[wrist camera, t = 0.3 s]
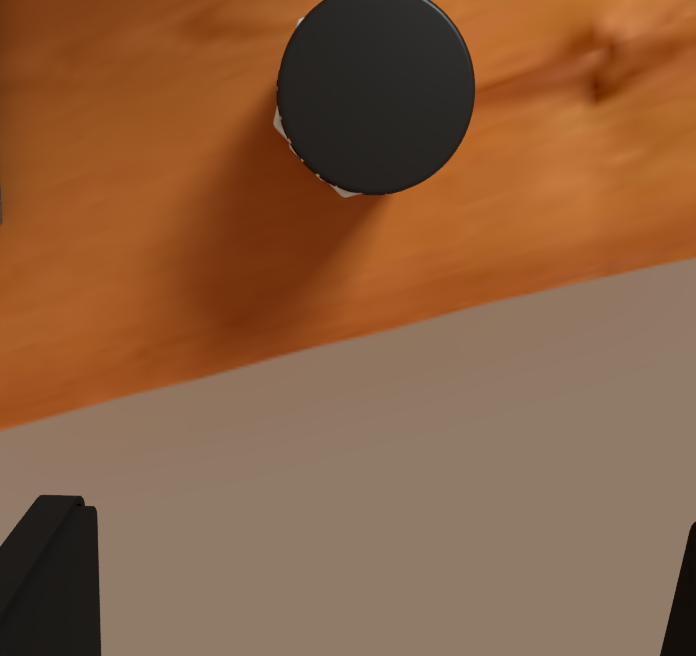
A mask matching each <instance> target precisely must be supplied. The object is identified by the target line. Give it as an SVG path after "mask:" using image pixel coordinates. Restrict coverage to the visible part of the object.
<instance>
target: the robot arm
mask: <svg viewBox="0 0 696 656" xmlns="http://www.w3.org/2000/svg"><path fill="white" fill-rule="evenodd" d="M98 563H99V561H98V526H97V511H96V508H95V507H94V506H85V503H84V499H83V498H82V497H81V496H63V495H40V496H39V497H38V498H37V499H36V500H35V502H34V503H33V504H32V506H31V507H30V508H29V509H28V511H27V512H26V513H25V515H24V516H23V517H22V519H21V520H20V521H19V523H18V524H17V525H16V527H15V528H14V529H13V531H12V532H11V533H10V534H9V536H8V537H7V539H6V540H5V541H4V542H3V544H2V545H1V546H0V656H101V636H100V635H101V634H100V599H99V598H100V597H99V564H98ZM660 656H696V522H694V523H693V525H692V526H691V529H690V532H689V536H688V541H687V545H686V549H685V553H684V558H683V562H682V566H681V570H680V574H679V578H678V583H677V587H676V591H675V595H674V599H673V604H672V608H671V612H670V616H669V621H668V625H667V629H666V633H665V637H664V642H663V646H662V650H661V654H660Z"/></svg>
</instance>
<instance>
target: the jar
mask: <svg viewBox="0 0 696 656" xmlns="http://www.w3.org/2000/svg"><path fill="white" fill-rule="evenodd" d="M277 87H278V91H277V108H276V112H275V116H274V121H273V125H274V127H275V128H276V130H277V131H278V133H279V134H280V136H281V137H282V138H283V139H284V140H285V141H286V142H287V143H288V144H289V148H290V149H291V150H292V151H293V152H294V153H295V154H296V156H297V157H298V158H299V159H300V160H301V161H302V162H303V163H304V164H305V165H306V166H307V167H308V168H309V169H310V170H311V171H312V172H313V173H314V174H315V175H316V176H317V177H318V178H319V179H320V180H321V181H325V182H326V183H327V184H328V185H329V186H330V187H331V188H332V189H333V190H334V191H336V192H337V193H338V194H339V195H340V196H342V197H344V198H347V197H351V196H355V195H358V194H363V195H385V194H392V193H396V192H400V191H403V190H405V189H408V188H411V187H413V186H415V185H417V184H419V183H421V182H423V181H425V180H426V179H428V178H429V177H431V176H432V175H434V174H436V173H437V172H438V170H440V169H441V168H442V167H443V166H444V165H445V164H446V163H447V162H448V160H449V159H450V158H451V157H452V156H453V154H454V153H455V151H456V150H457V148H458V147H459V145H460V143H461V142H462V140H463V138H464V136H465V134H466V131H467V129H468V126H469V123H470V120H471V116H472V112H473V107H474V99H475V78H474V70H473V64H472V61H471V57H470V53H469V51H468V48H467V45H466V43H465V41H464V39H463V37H462V35H461V33H460V32H459V30H458V28H457V27H456V25H455V24H454V23H453V21H452V20H451V19H450V18H449V17H448V16H447V14H446V13H445V12H444V11H443V10H442V9H441V8H439V7H438V6H437V5H436V4H435V3H433V2H432V1H430V0H323V1H322V2H321V3H319V4H318V5H317V6H315V7H314V8H313V9H312V10H311V11H310V12H309V13H308V14H307V15H306V16H305V17H302V18H300V19H299V20H298V21H297V24H296V28H295V31H294V33H293V34H292V36H291V38H290V40H289V42H288V44H287V46H286V49H285V52H284V55H283V58H282V61H281V65H280V70H279V73H278V80H277Z"/></svg>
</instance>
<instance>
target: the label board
mask: <svg viewBox="0 0 696 656" xmlns="http://www.w3.org/2000/svg"><path fill="white" fill-rule="evenodd" d="M0 224H2V210H1V190H0Z"/></svg>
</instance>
